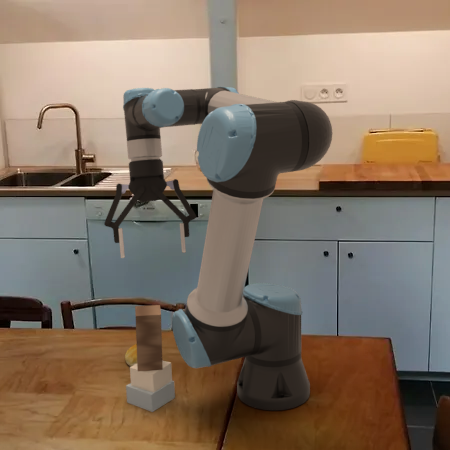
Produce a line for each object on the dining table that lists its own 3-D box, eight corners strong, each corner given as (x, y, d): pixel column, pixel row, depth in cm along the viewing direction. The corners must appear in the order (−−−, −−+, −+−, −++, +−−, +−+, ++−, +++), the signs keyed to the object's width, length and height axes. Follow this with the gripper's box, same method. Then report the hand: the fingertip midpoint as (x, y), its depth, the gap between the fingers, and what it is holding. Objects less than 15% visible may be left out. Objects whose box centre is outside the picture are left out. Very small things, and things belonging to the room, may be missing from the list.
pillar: (161, 358, 146) (159, 304, 143) (162, 369, 142) (161, 314, 138) (137, 359, 146) (135, 306, 142) (137, 371, 141) (135, 316, 138)
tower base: (175, 398, 146) (174, 381, 145) (152, 412, 141) (151, 394, 140) (150, 389, 150) (148, 372, 149) (127, 403, 145) (125, 385, 144)
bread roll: (157, 351, 169) (157, 335, 168) (163, 367, 161) (162, 350, 160) (123, 355, 168) (122, 339, 167) (127, 371, 159) (126, 355, 158)
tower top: (172, 380, 146) (171, 362, 145) (153, 392, 141) (152, 374, 140) (149, 373, 149) (148, 356, 148) (131, 385, 144) (129, 367, 143)
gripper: (200, 156, 161) (207, 248, 162) (90, 164, 158) (98, 258, 159) (202, 154, 153) (210, 251, 154) (87, 163, 151) (95, 261, 152)
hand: (153, 255), depth 157 cm, fingers open, 13 cm apart
